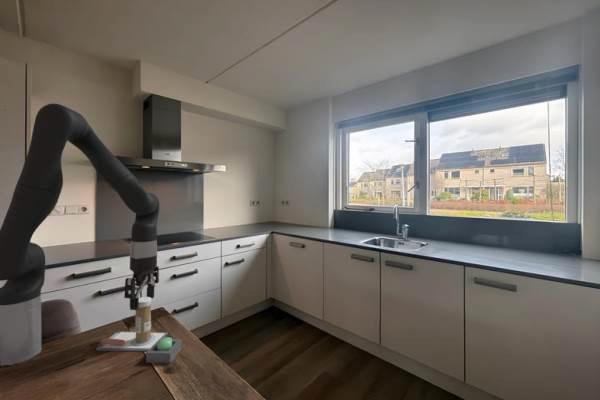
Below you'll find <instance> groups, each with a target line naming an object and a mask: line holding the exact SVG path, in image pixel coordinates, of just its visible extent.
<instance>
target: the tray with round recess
mask: <svg viewBox="0 0 600 400" xmlns="http://www.w3.org/2000/svg"><path fill="white" fill-rule="evenodd" d="M168 334H169V332H167V331H166V332H165V331H164V332H163V331H151V339H150V340H148V341H146V342H144V343H137V342H136V341H135V340H136V331H127V330H126V331H124V330H123V331H122V330H121V331H120V330H119V331H118V332H115V333H113V334H112V335H111V336H110V337H109V338H110V339H120V340H124V341H125V343H124V345H122V346H120V345H110V344H101V345H99V346H98V347H97V348H95V349H96V351H108V352H109V351H113V352H145V353H146V352H147V351H148V350H149V349H150V348H151V347H152V346H153V345H154V344H155V343H156V342H157V341H158V340H159V339H162V338H165V337H167V335H168Z"/></svg>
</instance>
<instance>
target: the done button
mask: <svg viewBox="0 0 600 400" xmlns="http://www.w3.org/2000/svg"><path fill="white" fill-rule="evenodd" d="M172 339H173V338H172V337H169V336H165V337H164V338H162V339H160V340H158V342H157V350H160V351H168V350H169V349H170V348H171V347H172Z"/></svg>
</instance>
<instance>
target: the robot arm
mask: <svg viewBox="0 0 600 400" xmlns="http://www.w3.org/2000/svg"><path fill="white" fill-rule="evenodd" d="M67 142H69V143H70V144H72V145H73V146H74V147H75V148H77V149H79V151H80V152H82V154H83V155H85V157H86V158H87V159H88V161H89V162H90V164H91V165H92V166H93V168H94V170H95V171H96V172H97V174H98V175H99V177H100V178H102V180H104V182H105V183H106V184H107V185H108V186H109V187H110V188H111V189H113V191H114V192H116V193H117V194H118V196H119V198H120V199H121V200H122V202H123V203H124V204H125V206H126V207H127V208H128V209H129V210H130V211H132V213H134V214H135V218H134V222H133V224H132V226H131V234H130V235H131V236H130V237H131V238H130V239H131V241H130V247H129V270H130V271H132V272H133V273H132V277H126V278H125V281H124V283H125V284H124V297H123V298H124V299H129V309H130V310H131V311H136V310H137V309H138V308H139V298H140V297H139V296H140V293H141V292H142V291H143V290H144V288H145V286H146V297H150V298H151V300H152V299H154V298H155V287H156V286H157V284H159V282H160V267H159V266H158V241H157V235H158V232H157V231H158V230H157V229H158V228H157V225H158V219H159V215H160V214H159V213H160V199H159V198H158V197H157V195H155V194H154V193H152V192H147V191H146V190H145V189H144V187H142V186H141V184H139V180H138V178H137V176H135V175H134V174H133V172H131V171H130V170H129V169H128V168H127V167H126V166H125V165H124V164H123V163H122V161H120V160H119V159H118V158H117V156H116V155H114V153H112V152H111V151H110V149H109V148H108V147H107V146H106V145H105V144H104V143H103V141H102V140H101V139H100V137H99V136H98V135H97V134H96V132H95V130H94V129H93V128H92V127H91V125H90V123H89V122H88V121H87V120H86V118H85V117H84V116H83V115H82V114H81V113H79V112H77V111H76V110H73V109H71V108H69V107H67V106H65V105H62V104H59V103H48V104H45V105H43V106H42V107H40V108H39V110H38V111H37V113H36V116H35V119H34V123H33V128H32V134H31V139H30V145H29V148H28V151H27V154H26V156H25V160H24V163H23V166H22V170H21V172H20V175H19V177H18V179H17V182H16V185H15V188H14V190H13V194H12V197H11V200H10V203H9V206H8V209H7V211H6V213H5V217H4V219H3V222H2V224H1V226H0V281H6V282H5V283H4V284H3V285H2V287H1V288H0V365H1V366H0V367H4V366H3V365H9V366H13V365H17V364H20V363H23V362H26V361H28V360H30V359H32V358H34V357H35V356H37V355H39V354H40V353H41V351H42V350H43V349H42V288H43V287H44V284H45V277H46V255H45V252H44V249H43V248H42V247H41V246H40V245H39V244H37V243H35V242H31V240H32V237H33V236H34V233H35V232H36V231H37V229H38V228H39V226H41V224H42V223H43V222H44V221H45V220H46V219H47V218H48V217H49V216H50V214H51V213H52V212H53V210H55V208H56V206H57V204H58V201H59V198H60V195H61V193H62V190H63V186H64V176H63V175H64V174H63V167H62V156H63V152H64V149H65V146H66V144H67Z"/></svg>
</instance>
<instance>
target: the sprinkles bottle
mask: <svg viewBox="0 0 600 400" xmlns="http://www.w3.org/2000/svg"><path fill="white" fill-rule="evenodd" d="M151 309H152V299H151V298H150V297H147V296H142V297H139V308H138V309H137V310H135V320H134V321H135V332H136V340H135V341H136V342H137V343H144V342H146V341H148V340H150V339H151V332H152V312H151V311H152V310H151Z"/></svg>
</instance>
